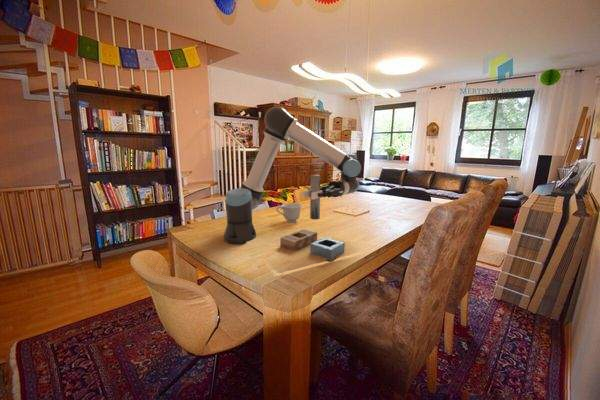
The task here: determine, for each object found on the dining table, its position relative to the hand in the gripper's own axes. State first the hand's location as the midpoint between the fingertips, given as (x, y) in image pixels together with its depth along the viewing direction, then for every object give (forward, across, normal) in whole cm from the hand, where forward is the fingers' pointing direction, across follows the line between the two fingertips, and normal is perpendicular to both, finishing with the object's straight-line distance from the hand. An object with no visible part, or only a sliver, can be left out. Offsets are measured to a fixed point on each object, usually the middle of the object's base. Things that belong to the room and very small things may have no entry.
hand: (307, 195), depth 102 cm
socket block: (-4, -7, -25) cm, 26 cm away
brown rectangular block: (-5, +8, -24) cm, 26 cm away
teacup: (-30, +37, -25) cm, 54 cm away
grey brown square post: (-5, 0, -10) cm, 12 cm away
